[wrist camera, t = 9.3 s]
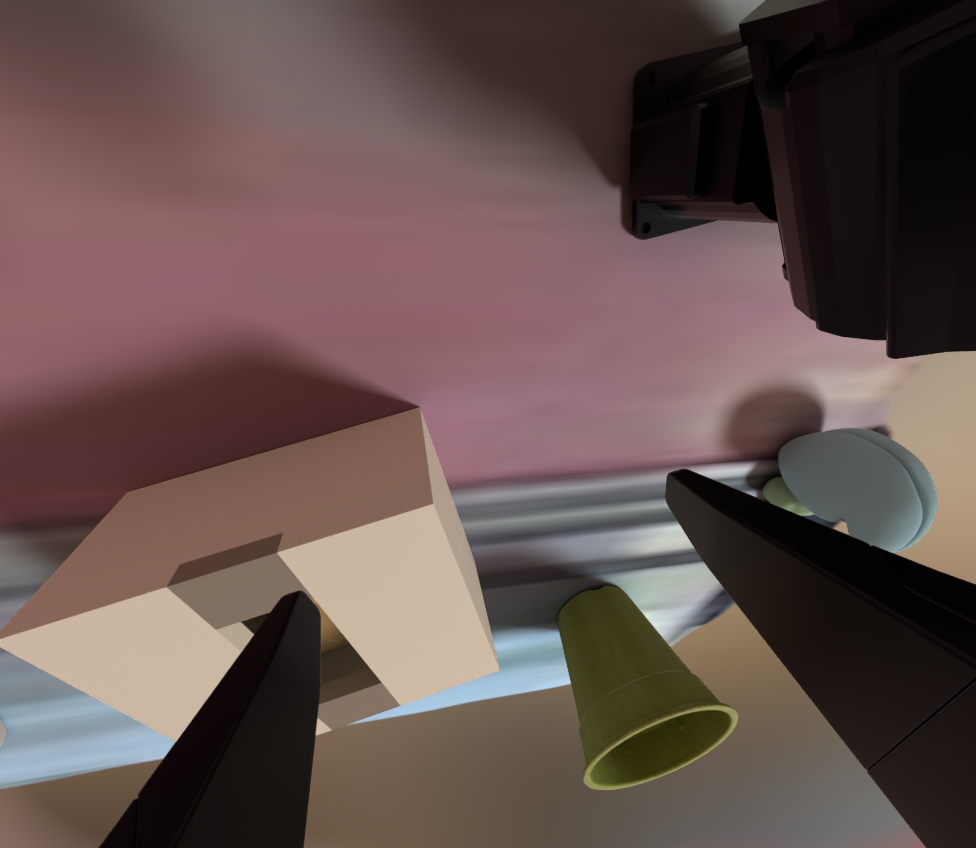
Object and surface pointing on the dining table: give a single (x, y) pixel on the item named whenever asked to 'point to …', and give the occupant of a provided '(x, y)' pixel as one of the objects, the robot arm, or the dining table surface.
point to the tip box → (271, 580)
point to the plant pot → (634, 694)
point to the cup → (2, 733)
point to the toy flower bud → (857, 485)
